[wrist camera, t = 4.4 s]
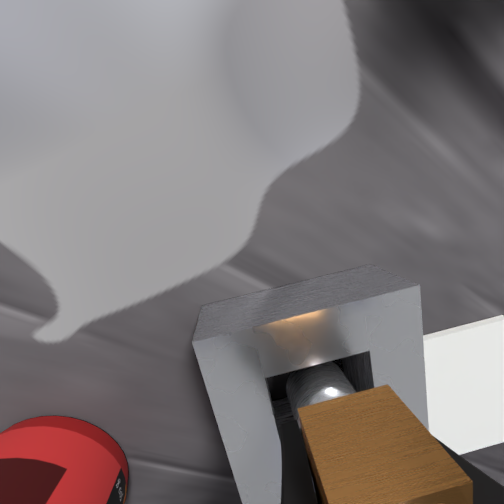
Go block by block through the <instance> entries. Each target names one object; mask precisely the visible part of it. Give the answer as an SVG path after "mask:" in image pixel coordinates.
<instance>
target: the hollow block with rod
mask: <svg viewBox="0 0 504 504" xmlns="http://www.w3.org/2000/svg"><path fill="white" fill-rule="evenodd" d="M192 344H193V347H194V350H195V354H196V357H197V360H198V363H199V366H200V370H201V373H202V376H203V379H204V382H205V386H206V389H207V392H208V395H209V398H210V402H211V405H212V408H213V411H214V414H215V418H216V421H217V424H218V427H219V430H220V434H221V437H222V440H223V443H224V446H225V450H226V453H227V456H228V459H229V462H230V466H231V469H232V472H233V475H234V478H235V482H236V485H237V488H238V491H239V494H240V498H241V501H242V504H281V479H282V458H281V440H280V432H279V426H280V425H281V424H283V423H286V422H290V421H294V416H293V413H292V410H291V406H290V403H289V400H288V397H287V398H283V399H279V400H276V401H272V399H271V395H270V391H269V387H268V382H267V378H268V377H271V376H275V375H279V374H283V373H287V372H290V371H294V370H298V369H302V368H306V367H310V366H313V365H317V364H321V363H325V362H329V361H332V360H336V359H340V358H342V363H343V369H344V375H345V376H346V378H347V379H348V381H349V382H350V384H351V385H352V387H353V388H354V390H355V391H356V393H357V392H361V391H364V390H368V389H372V388H375V387H379V386H383V385H387V384H388V385H389V386H390V387H391V389H392V390H393V391H394V392H395V393H396V394H397V395H398V397H399V398H400V399H401V400H402V401H403V402H404V403H405V405H406V406H407V407H408V408H409V409H410V410H411V411H412V413H413V414H414V415H415V416H416V417H417V418H418V419H419V421H420V422H421V423H422V424H423V425H424V426H425V427H426V429H427V430H428V431H429V424H428V408H427V392H426V376H425V360H424V344H423V328H422V312H421V296H420V285H418V284H416V283H414V282H411V281H409V280H407V279H404V278H402V277H400V276H397V275H395V274H393V273H390V272H388V271H386V270H383V269H381V268H379V267H376V266H374V265H372V264H370V265H366V266H362V267H358V268H354V269H350V270H346V271H341V272H337V273H333V274H329V275H325V276H321V277H317V278H313V279H309V280H305V281H301V282H296V283H292V284H288V285H284V286H280V287H276V288H272V289H268V290H264V291H260V292H255V293H251V294H247V295H243V296H239V297H235V298H231V299H227V300H223V301H219V302H215V303H210V304H206V305H202V307H201V311H200V315H199V318H198V322H197V326H196V330H195V333H194V337H193V341H192ZM312 481H313V480H312ZM314 490H315V489H314Z"/></svg>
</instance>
